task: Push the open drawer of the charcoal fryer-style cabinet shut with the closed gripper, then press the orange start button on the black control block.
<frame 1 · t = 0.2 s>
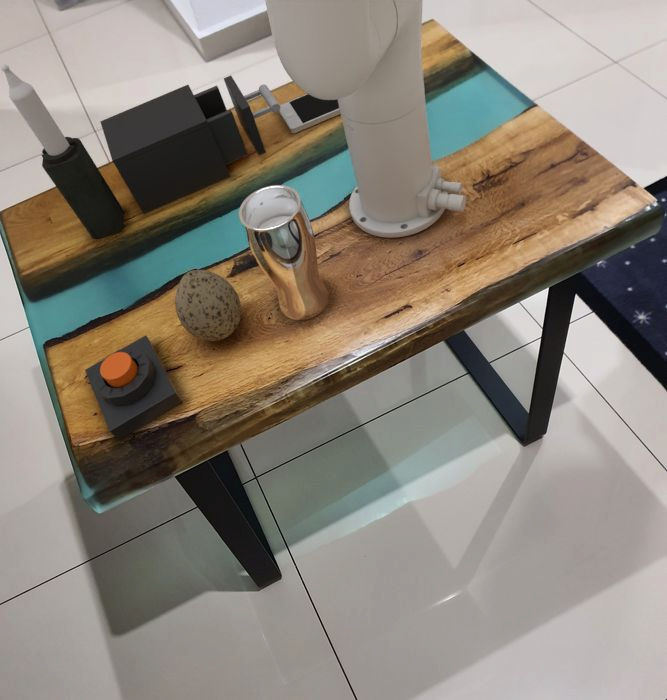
start button: (119, 369, 71), point 4 cm above the table, slide at 0.1 cm
smartphone: (331, 104, 100), on the table
fryer: (179, 175, 97), on the table
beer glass: (305, 301, 78), on the table
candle: (109, 225, 94), on the table
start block: (137, 391, 75), on the table
fryer drawer: (222, 125, 94), point 5 cm above the table, slide at 5.0 cm
decorative egg: (222, 331, 78), on the table
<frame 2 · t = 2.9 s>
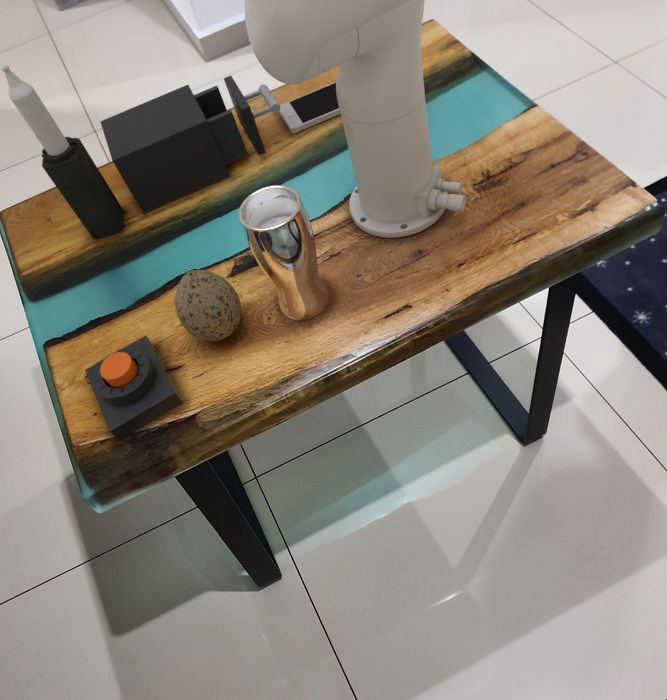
nothing on the table moved.
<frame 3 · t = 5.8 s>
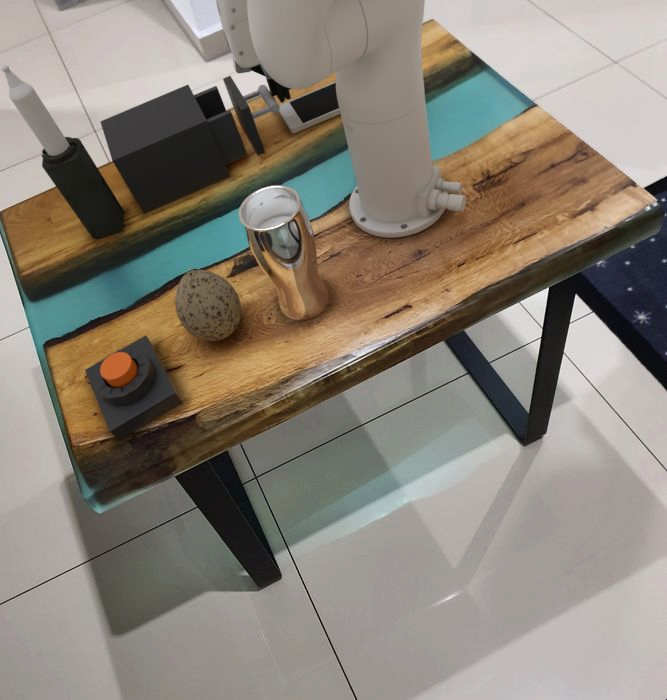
hand: (283, 96, 94), 5 cm above the table, tool pointing down, fingers closed
fryer drawer: (222, 125, 94), point 5 cm above the table, slide at 4.9 cm, touching gripper
everything else where it was.
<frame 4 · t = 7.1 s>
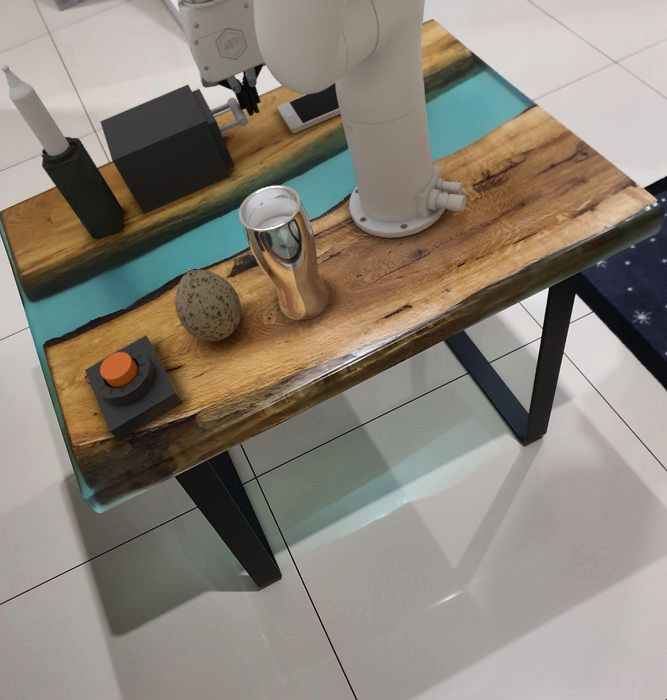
hand: (252, 109, 94), 5 cm above the table, tool pointing down, fingers closed
fryer drawer: (190, 138, 94), point 5 cm above the table, slide at 0.0 cm, touching fryer, gripper
everything else where it was.
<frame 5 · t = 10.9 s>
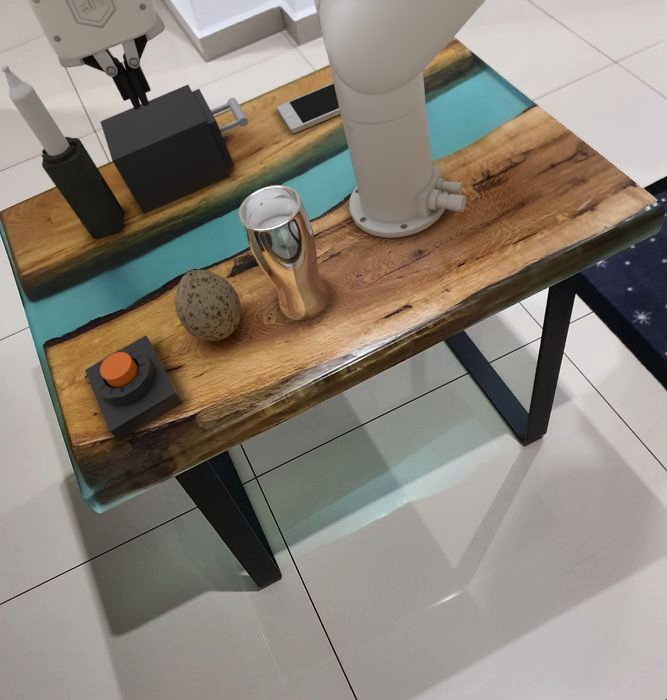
hand: (140, 100, 68), 22 cm above the table, tool pointing down, fingers closed
fryer drawer: (190, 138, 94), point 5 cm above the table, slide at 0.0 cm, touching fryer
everything else where it was.
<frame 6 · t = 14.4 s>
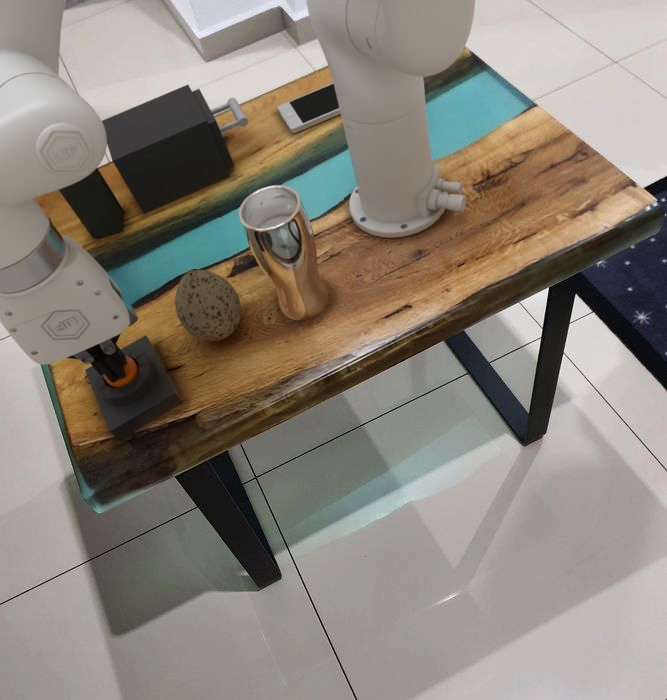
hand: (117, 370, 71), 5 cm above the table, tool pointing down, fingers closed
start button: (122, 373, 72), point 4 cm above the table, slide at -0.7 cm, touching gripper
everything else where it was.
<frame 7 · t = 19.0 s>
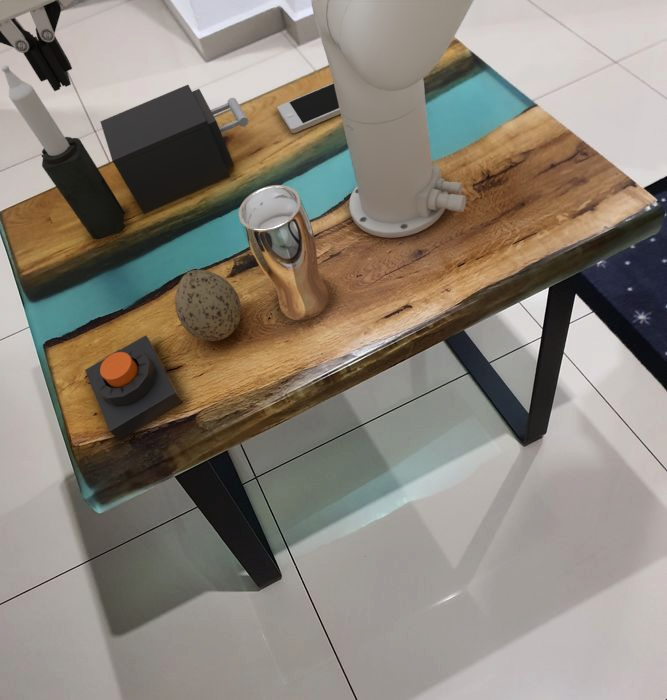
hand: (61, 81, 60), 29 cm above the table, tool pointing down, fingers closed
start button: (119, 369, 71), point 4 cm above the table, slide at 0.1 cm
everything else where it was.
at the end: fryer drawer slide at 0.0 cm; start button pushed in 1.1 cm at the most during the clip, back to where it started at the end; start button slide at 0.1 cm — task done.
